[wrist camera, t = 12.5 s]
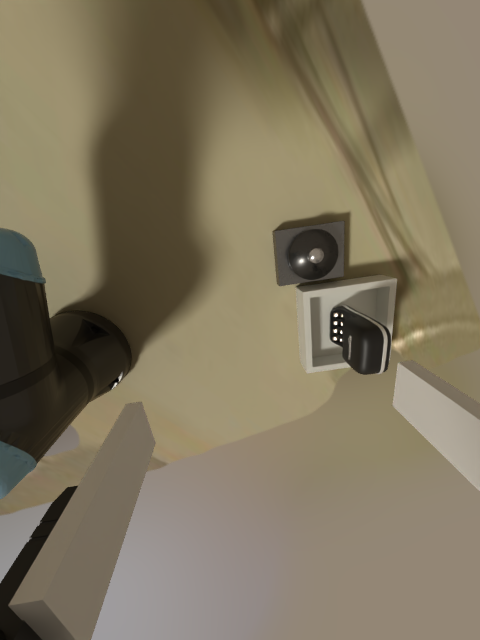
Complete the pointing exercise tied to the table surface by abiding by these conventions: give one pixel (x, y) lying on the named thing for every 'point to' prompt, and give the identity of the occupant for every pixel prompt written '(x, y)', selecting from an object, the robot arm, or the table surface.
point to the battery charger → (360, 340)
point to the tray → (320, 299)
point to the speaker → (309, 253)
